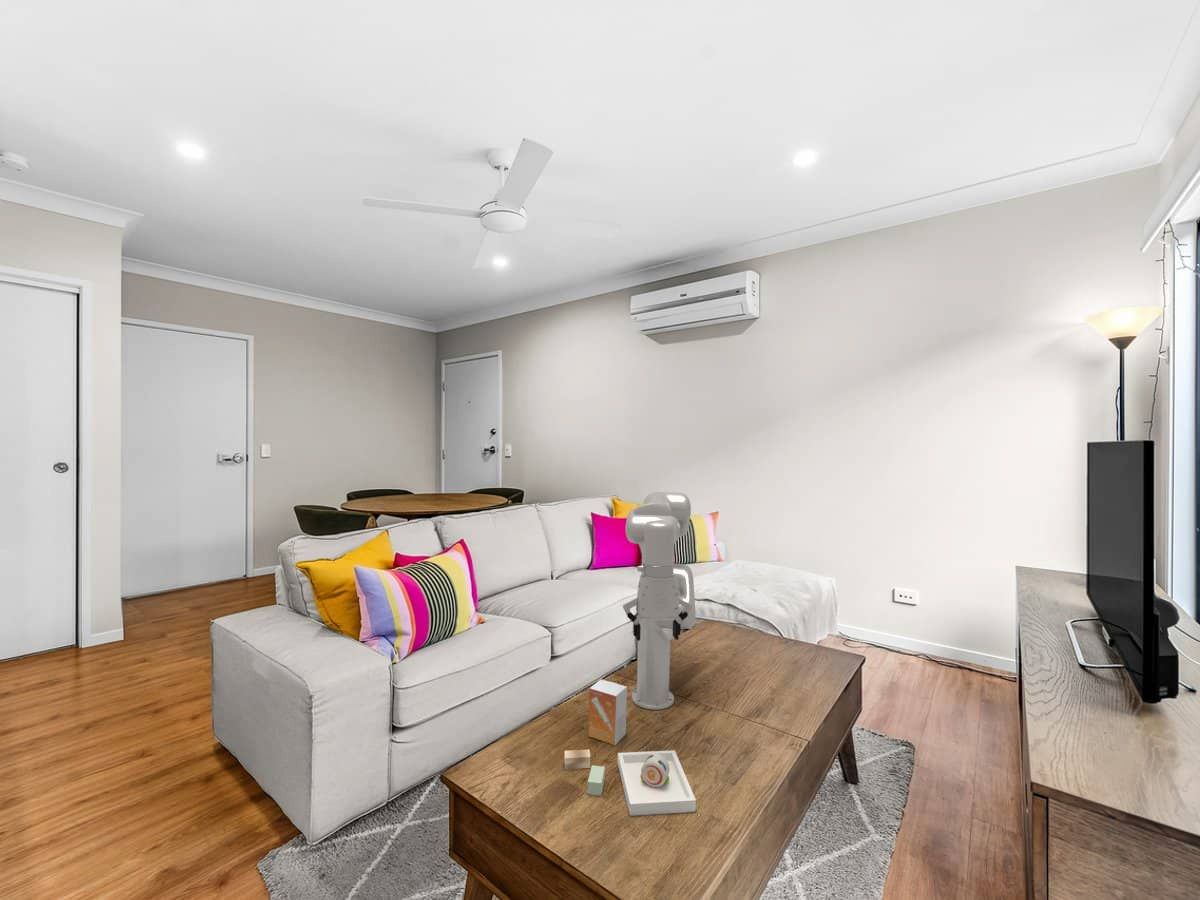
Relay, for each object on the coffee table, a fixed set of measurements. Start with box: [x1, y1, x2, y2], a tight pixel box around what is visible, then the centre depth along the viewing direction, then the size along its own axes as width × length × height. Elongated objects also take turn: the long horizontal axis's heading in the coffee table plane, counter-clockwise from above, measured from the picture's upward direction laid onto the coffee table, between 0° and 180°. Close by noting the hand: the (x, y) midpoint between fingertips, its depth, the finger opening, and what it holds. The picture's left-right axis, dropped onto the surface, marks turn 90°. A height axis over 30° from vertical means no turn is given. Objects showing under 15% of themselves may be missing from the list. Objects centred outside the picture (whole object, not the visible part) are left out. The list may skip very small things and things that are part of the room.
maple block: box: [563, 749, 591, 770], centre depth 129 cm, size 6×3×3 cm, turn 96°
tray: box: [617, 749, 697, 817], centre depth 122 cm, size 18×14×2 cm
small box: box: [587, 678, 628, 746], centre depth 142 cm, size 8×6×13 cm
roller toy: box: [640, 754, 669, 787], centre depth 122 cm, size 4×6×6 cm
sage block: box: [587, 765, 606, 797], centre depth 122 cm, size 6×3×3 cm, turn 172°
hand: (656, 638), depth 135 cm, fingers open, 9 cm apart
